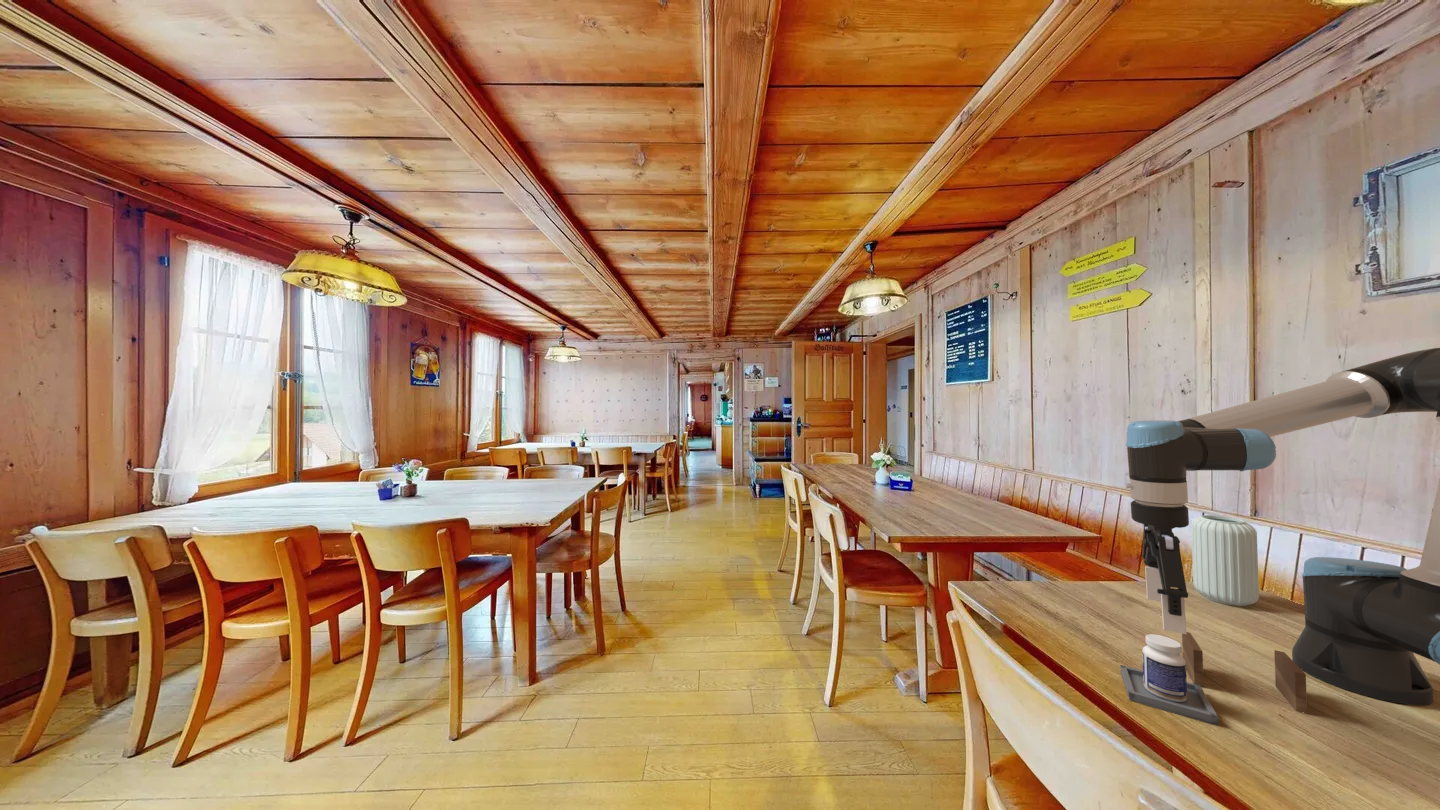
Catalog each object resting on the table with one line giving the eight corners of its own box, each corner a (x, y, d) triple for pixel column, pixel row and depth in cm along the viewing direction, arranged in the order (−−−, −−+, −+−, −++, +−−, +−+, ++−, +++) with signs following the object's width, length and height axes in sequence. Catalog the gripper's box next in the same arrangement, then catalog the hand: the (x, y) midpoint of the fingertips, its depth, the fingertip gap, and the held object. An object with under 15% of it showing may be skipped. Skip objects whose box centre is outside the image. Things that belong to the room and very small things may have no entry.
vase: (1269, 613, 107) (1266, 526, 107) (1203, 603, 113) (1200, 521, 113) (1246, 595, 116) (1243, 516, 116) (1186, 587, 123) (1184, 511, 123)
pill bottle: (1196, 705, 76) (1195, 650, 76) (1159, 701, 77) (1157, 647, 77) (1169, 684, 81) (1167, 633, 81) (1135, 681, 82) (1133, 631, 82)
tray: (1200, 692, 80) (1199, 684, 80) (1218, 725, 72) (1218, 717, 72) (1120, 672, 86) (1120, 664, 86) (1129, 700, 78) (1129, 692, 78)
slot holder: (1285, 688, 80) (1284, 652, 80) (1307, 714, 74) (1305, 674, 74) (1183, 664, 88) (1181, 631, 88) (1194, 685, 82) (1193, 649, 82)
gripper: (1120, 488, 91) (1126, 585, 91) (1143, 515, 71) (1151, 640, 71) (1169, 491, 87) (1176, 593, 87) (1209, 521, 67) (1218, 654, 67)
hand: (1165, 614), depth 79 cm, fingers open, 13 cm apart
